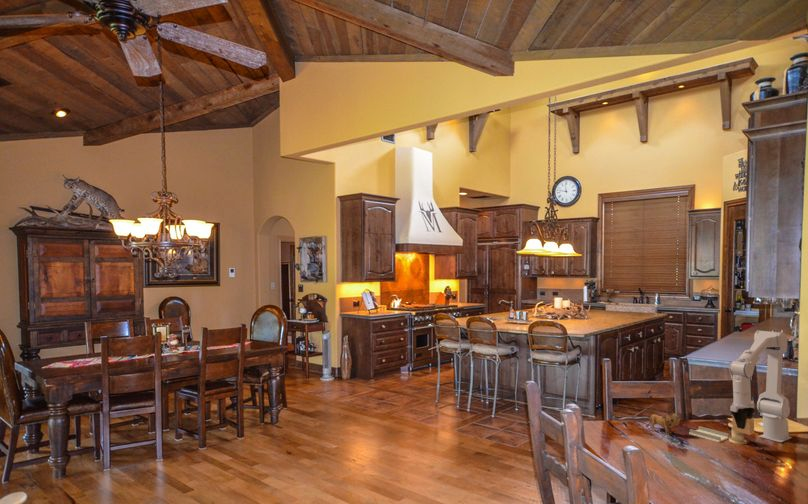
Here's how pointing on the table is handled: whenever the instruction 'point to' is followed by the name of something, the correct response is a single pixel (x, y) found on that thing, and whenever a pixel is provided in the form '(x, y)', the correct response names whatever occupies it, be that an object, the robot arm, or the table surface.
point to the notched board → (710, 434)
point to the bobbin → (736, 436)
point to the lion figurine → (665, 421)
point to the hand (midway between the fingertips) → (743, 427)
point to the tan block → (748, 426)
